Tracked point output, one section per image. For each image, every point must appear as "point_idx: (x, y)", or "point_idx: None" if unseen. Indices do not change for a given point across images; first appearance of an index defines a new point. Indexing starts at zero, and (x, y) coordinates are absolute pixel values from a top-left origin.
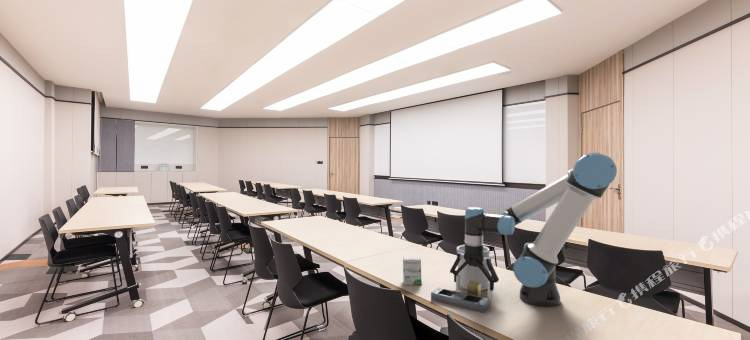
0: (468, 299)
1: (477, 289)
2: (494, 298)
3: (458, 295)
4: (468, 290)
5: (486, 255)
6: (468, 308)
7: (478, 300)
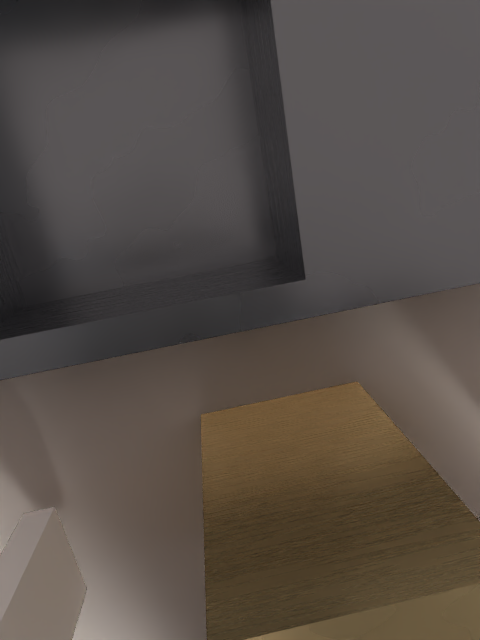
0: (277, 260)
1: (208, 553)
2: None
3: (471, 55)
4: (395, 458)
5: None
6: None
7: (82, 304)
